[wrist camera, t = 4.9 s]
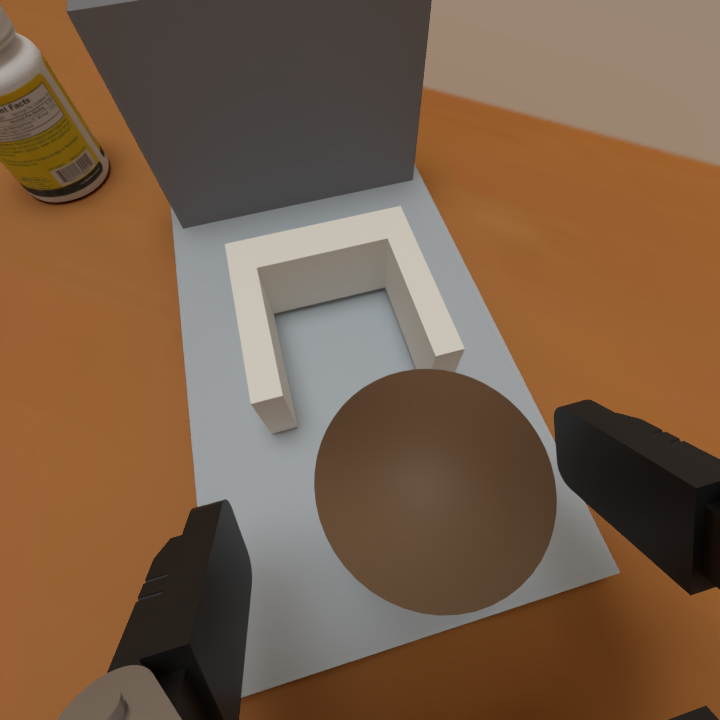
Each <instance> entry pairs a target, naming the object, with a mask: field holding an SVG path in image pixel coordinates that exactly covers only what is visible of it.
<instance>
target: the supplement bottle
mask: <svg viewBox="0 0 720 720" xmlns="http://www.w3.org/2000/svg"><path fill="white" fill-rule="evenodd" d="M0 161H1V162H2V163H3V165H4V166H5V167H6V168H7V169H8V170H9V171H10V172H11V174H12V175H13V176H14V177H15V178H16V179H17V180H18V181H19V182H20V183H21V185H22V186H23V187H24V188H25V189H26V190H27V191H28V192H29V193H30V194H31V195H32V196H34V197H35V198H37V199H39V200H42V201H46V202H65V201H70V200H74V199H77V198H80V197H83V196H85V195H87V194H89V193H90V192H92V191H94V190H95V189H96V188H97V187H98V186H99V185H100V184H101V183H102V182H103V181H104V179H105V178H106V176H107V173H108V169H109V163H108V159H107V156H106V154H105V153H104V151H103V149H102V148H101V146H100V145H99V143H98V142H97V140H96V139H95V137H94V135H93V134H92V132H91V131H90V129H89V128H88V126H87V125H86V123H85V121H84V120H83V118H82V117H81V115H80V114H79V112H78V110H77V109H76V107H75V106H74V104H73V103H72V101H71V99H70V98H69V96H68V95H67V93H66V92H65V90H64V89H63V87H62V85H61V84H60V82H59V81H58V79H57V77H56V76H55V74H54V73H53V71H52V69H51V68H50V66H49V65H48V63H47V61H46V60H45V58H44V56H43V55H42V53H41V52H40V50H39V49H38V48H37V47H36V46H35V45H34V44H33V43H32V42H31V41H30V40H29V39H27V38H26V37H24V36H22V35H20V34H17V33H15V27H14V25H13V24H12V23H11V20H10V19H9V17H8V16H7V14H6V13H5V11H4V10H3V8H2V7H1V5H0Z"/></svg>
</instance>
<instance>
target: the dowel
mask: <svg viewBox="0 0 720 720" xmlns="http://www.w3.org/2000/svg"><path fill="white" fill-rule="evenodd" d="M314 491H315V501H316V507H317V511H318V515H319V519H320V522H321V525H322V528H323V530H324V533H325V536H326V538H327V540H328V542H329V543H330V545H331V547H332V549H333V551H334V553H335V554H336V555H337V557H338V558H339V560H340V561H341V562H342V564H343V565H344V567H345V568H346V569H347V570H348V571H349V572H350V573H351V574H352V575H353V576H354V577H355V578H356V580H358V581H359V582H360V583H361V584H362V585H364V586H365V587H366V588H367V589H369V590H370V591H371V592H373V593H374V594H376V595H377V596H379V597H381V598H382V599H384V600H386V601H387V602H390V603H392V604H394V605H397V606H399V607H401V608H404V609H407V610H411V611H414V612H418V613H422V614H430V615H439V616H443V615H460V614H466V613H471V612H476V611H478V610H481V609H484V608H487V607H490V606H492V605H494V604H496V603H498V602H499V601H501V600H503V599H505V598H507V597H508V596H509V595H511V594H512V593H513V592H514V591H516V590H517V589H518V588H520V587H521V586H522V585H523V584H524V583H525V581H526V580H527V579H528V578H529V577H530V576H531V575H532V574H533V572H534V571H535V569H536V568H537V566H538V565H539V564H540V562H541V561H542V559H543V556H544V554H545V552H546V550H547V548H548V546H549V543H550V540H551V537H552V533H553V530H554V525H555V519H556V510H557V493H556V484H555V478H554V474H553V469H552V465H551V462H550V459H549V457H548V454H547V451H546V449H545V447H544V445H543V443H542V441H541V439H540V437H539V435H538V434H537V432H536V431H535V429H534V428H533V426H532V425H531V423H530V422H529V421H528V419H527V418H526V417H525V416H524V415H523V413H522V412H521V411H520V410H519V409H518V408H517V407H516V406H515V405H514V404H513V403H512V402H511V401H509V400H508V399H507V398H506V397H504V396H503V395H502V394H500V393H499V392H498V391H496V390H495V389H493V388H491V387H490V386H488V385H486V384H485V383H483V382H480V381H478V380H476V379H474V378H471V377H469V376H466V375H462V374H459V373H456V372H451V371H446V370H438V369H414V370H407V371H401V372H398V373H394V374H390V375H387V376H385V377H383V378H380V379H378V380H376V381H374V382H372V383H370V384H369V385H367V386H365V387H364V388H362V389H361V390H360V391H358V392H357V393H356V394H354V395H353V396H352V397H351V398H350V399H349V400H348V401H347V402H346V403H345V404H344V405H343V406H342V407H341V408H340V410H339V411H338V412H337V413H336V415H335V416H334V418H333V419H332V421H331V423H330V424H329V426H328V428H327V430H326V432H325V434H324V436H323V439H322V441H321V444H320V447H319V451H318V454H317V459H316V466H315V473H314Z"/></svg>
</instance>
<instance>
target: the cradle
mask: <svg viewBox="0 0 720 720" xmlns="http://www.w3.org/2000/svg"><path fill="white" fill-rule="evenodd" d="M225 249H226V255H227V261H228V267H229V274H230V280H231V286H232V292H233V298H234V304H235V310H236V316H237V323H238V329H239V335H240V341H241V347H242V353H243V359H244V365H245V372H246V378H247V384H248V390H249V396H250V402H251V405H252V406H253V408H254V409H255V411H256V412H257V414H258V415H259V417H260V418H261V420H262V421H263V422H264V424H265V425H266V427H267V428H268V430H269V431H270V433H271V434H273V433H276V432H280V431H284V430H288V429H291V428H295V427H298V425H297V421H296V416H295V411H294V407H293V402H292V397H291V392H290V388H289V383H288V378H287V374H286V369H285V364H284V360H283V355H282V350H281V346H280V341H279V336H278V332H277V327H276V322H275V318H274V314H275V313H279V312H283V311H287V310H292V309H296V308H300V307H304V306H309V305H313V304H317V303H321V302H325V301H330V300H334V299H338V298H342V297H347V296H351V295H355V294H359V293H363V292H368V291H372V290H376V289H380V288H384V287H385V288H386V291H387V293H388V296H389V299H390V301H391V304H392V307H393V309H394V312H395V315H396V317H397V320H398V323H399V325H400V328H401V330H402V333H403V336H404V338H405V341H406V344H407V346H408V349H409V352H410V354H411V357H412V360H413V362H414V365H415V368H416V369H438V370H446V371H451V372H456V369H457V367H458V364H459V362H460V359H461V357H462V355H463V352H464V350H465V348H464V346H463V343H462V341H461V339H460V337H459V335H458V332H457V330H456V328H455V326H454V323H453V321H452V319H451V317H450V315H449V312H448V310H447V308H446V306H445V303H444V301H443V299H442V297H441V295H440V292H439V290H438V288H437V286H436V283H435V281H434V279H433V277H432V274H431V272H430V270H429V268H428V266H427V263H426V261H425V259H424V257H423V254H422V252H421V250H420V248H419V246H418V243H417V241H416V239H415V237H414V234H413V232H412V230H411V228H410V225H409V223H408V221H407V219H406V217H405V214H404V212H403V210H402V208H401V206H397V207H393V208H388V209H383V210H379V211H374V212H370V213H365V214H360V215H356V216H351V217H347V218H342V219H337V220H333V221H328V222H324V223H319V224H314V225H310V226H305V227H301V228H296V229H291V230H287V231H282V232H277V233H273V234H268V235H264V236H259V237H254V238H250V239H245V240H241V241H236V242H231V243H227V244H225Z"/></svg>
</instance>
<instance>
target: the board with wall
mask: <svg viewBox="0 0 720 720" xmlns="http://www.w3.org/2000/svg"><path fill="white" fill-rule="evenodd" d="M431 1H432V0H68V2H67V11H66V12H67V13H68V15H69V17H70V19H71V21H72V23H73V25H74V26H75V28H76V30H77V32H78V34H79V36H80V38H81V40H82V41H83V43H84V45H85V47H86V49H87V51H88V53H89V54H90V56H91V58H92V60H93V62H94V64H95V66H96V67H97V69H98V71H99V73H100V75H101V77H102V79H103V80H104V82H105V84H106V86H107V88H108V90H109V92H110V93H111V95H112V97H113V99H114V101H115V103H116V105H117V107H118V108H119V110H120V112H121V114H122V116H123V118H124V120H125V121H126V123H127V125H128V127H129V129H130V131H131V133H132V134H133V136H134V138H135V140H136V142H137V144H138V146H139V147H140V149H141V151H142V153H143V155H144V157H145V159H146V160H147V162H148V164H149V166H150V168H151V170H152V172H153V174H154V175H155V177H156V179H157V181H158V183H159V185H160V187H161V188H162V190H163V192H164V194H165V196H166V198H167V200H168V201H169V203H170V205H171V214H172V225H173V237H174V248H175V259H176V271H177V282H178V293H179V305H180V316H181V327H182V338H183V350H184V361H185V372H186V384H187V395H188V406H189V418H190V429H191V440H192V451H193V463H194V474H195V485H196V497H197V507H199V506H203V505H206V504H210V503H214V502H217V501H221V500H224V499H226V500H228V501H229V503H230V504H231V507H232V509H233V512H234V515H235V517H236V520H237V523H238V526H239V529H240V531H241V534H242V537H243V540H244V542H245V545H246V548H247V551H248V554H249V557H250V562H251V568H252V589H251V600H250V610H249V620H248V631H247V641H246V651H245V662H244V672H243V682H242V693H241V698H242V697H245V696H248V695H251V694H254V693H258V692H261V691H264V690H267V689H270V688H273V687H276V686H279V685H282V684H285V683H288V682H291V681H294V680H297V679H300V678H303V677H306V676H309V675H312V674H315V673H318V672H321V671H324V670H327V669H330V668H333V667H336V666H339V665H342V664H345V663H348V662H352V661H355V660H358V659H361V658H364V657H367V656H370V655H373V654H376V653H379V652H382V651H385V650H388V649H391V648H394V647H397V646H400V645H403V644H406V643H409V642H412V641H415V640H418V639H421V638H424V637H427V636H430V635H433V634H436V633H439V632H442V631H446V630H449V629H452V628H455V627H458V626H461V625H464V624H467V623H470V622H473V621H476V620H479V619H482V618H485V617H488V616H491V615H494V614H497V613H500V612H503V611H506V610H509V609H512V608H515V607H518V606H521V605H524V604H527V603H530V602H533V601H536V600H540V599H543V598H546V597H549V596H552V595H555V594H558V593H561V592H564V591H567V590H570V589H573V588H576V587H579V586H582V585H585V584H588V583H591V582H594V581H597V580H600V579H603V578H606V577H609V576H612V575H615V574H618V573H620V571H619V569H618V567H617V565H616V563H615V561H614V559H613V557H612V555H611V553H610V551H609V549H608V547H607V545H606V543H605V541H604V539H603V537H602V535H601V533H600V531H599V529H598V527H597V525H596V523H595V521H594V519H593V517H592V515H591V513H590V511H589V509H588V507H587V505H586V503H585V502H584V501H583V500H582V499H581V498H580V497H579V496H578V495H577V494H575V493H574V492H573V491H572V490H571V489H570V488H569V487H568V486H567V485H566V483H565V482H564V480H563V479H562V477H561V475H560V472H559V469H558V466H557V456H556V444H555V442H554V440H553V438H552V436H551V434H550V432H549V430H548V428H547V426H546V424H545V422H544V420H543V418H542V416H541V414H540V412H539V410H538V408H537V406H536V404H535V402H534V400H533V398H532V396H531V394H530V392H529V390H528V388H527V386H526V384H525V382H524V380H523V378H522V376H521V374H520V372H519V370H518V368H517V366H516V364H515V362H514V360H513V358H512V356H511V354H510V352H509V350H508V348H507V346H506V344H505V342H504V340H503V338H502V336H501V334H500V333H499V331H498V329H497V327H496V325H495V323H494V321H493V319H492V317H491V315H490V313H489V311H488V309H487V307H486V305H485V303H484V301H483V299H482V297H481V295H480V293H479V291H478V289H477V287H476V285H475V283H474V281H473V279H472V277H471V275H470V273H469V271H468V269H467V267H466V265H465V263H464V261H463V259H462V257H461V255H460V253H459V251H458V249H457V247H456V245H455V243H454V241H453V239H452V237H451V235H450V233H449V231H448V229H447V227H446V225H445V223H444V221H443V219H442V217H441V215H440V213H439V211H438V209H437V207H436V206H435V204H434V202H433V200H432V198H431V196H430V194H429V192H428V190H427V188H426V186H425V184H424V182H423V180H422V178H421V176H420V174H419V172H418V170H417V168H416V166H415V164H414V163H415V154H416V144H417V135H418V125H419V116H420V106H421V97H422V87H423V78H424V68H425V58H426V49H427V39H428V30H429V20H430V11H431ZM397 206H401V208H402V210H403V212H404V214H405V217H406V219H407V221H408V223H409V225H410V228H411V230H412V232H413V234H414V237H415V239H416V241H417V243H418V246H419V248H420V250H421V252H422V254H423V257H424V259H425V261H426V263H427V266H428V268H429V270H430V272H431V274H432V277H433V279H434V281H435V283H436V286H437V288H438V290H439V292H440V295H441V297H442V299H443V301H444V303H445V306H446V308H447V310H448V312H449V315H450V317H451V319H452V321H453V323H454V326H455V328H456V330H457V332H458V335H459V337H460V339H461V341H462V343H463V346H464V348H465V350H464V352H463V355H462V357H461V359H460V362H459V364H458V367H457V369H456V373H459V374H462V375H466V376H469V377H471V378H474V379H476V380H478V381H480V382H483V383H485V384H486V385H488V386H490V387H491V388H493V389H495V390H496V391H498V392H499V393H500V394H502V395H503V396H504V397H506V398H507V399H508V400H509V401H511V402H512V403H513V404H514V405H515V406H516V407H517V408H518V409H519V410H520V411H521V412H522V413H523V415H524V416H525V417H526V418H527V419H528V421H529V422H530V423H531V425H532V426H533V428H534V429H535V431H536V432H537V434H538V435H539V437H540V439H541V441H542V443H543V445H544V447H545V449H546V451H547V454H548V457H549V459H550V462H551V465H552V469H553V474H554V478H555V484H556V493H557V510H556V519H555V525H554V530H553V533H552V537H551V540H550V543H549V546H548V548H547V550H546V552H545V554H544V556H543V559H542V561H541V562H540V564H539V565H538V566H537V568H536V569H535V571H534V572H533V574H532V575H531V576H530V577H529V578H528V579H527V580H526V581H525V583H524V584H523V585H522V586H521V587H520V588H518V589H517V590H516V591H514V592H513V593H512V594H511V595H509V596H508V597H507V598H505V599H503V600H501V601H499V602H498V603H496V604H494V605H492V606H490V607H487V608H484V609H481V610H478V611H476V612H471V613H466V614H460V615H443V616H439V615H430V614H422V613H418V612H414V611H411V610H407V609H404V608H401V607H399V606H397V605H394V604H392V603H390V602H387V601H386V600H384V599H382V598H381V597H379V596H377V595H376V594H374V593H373V592H371V591H370V590H369V589H367V588H366V587H365V586H364V585H362V584H361V583H360V582H359V581H358V580H356V578H355V577H354V576H353V575H352V574H351V573H350V572H349V571H348V570H347V569H346V568H345V567H344V565H343V564H342V562H341V561H340V560H339V558H338V557H337V555H336V554H335V553H334V551H333V549H332V547H331V545H330V543H329V542H328V540H327V538H326V536H325V533H324V530H323V528H322V525H321V522H320V519H319V515H318V511H317V507H316V501H315V491H314V473H315V466H316V459H317V454H318V451H319V447H320V444H321V441H322V439H323V436H324V434H325V432H326V430H327V428H328V426H329V424H330V423H331V421H332V419H333V418H334V416H335V415H336V413H337V412H338V411H339V410H340V408H341V407H342V406H343V405H344V404H345V403H346V402H347V401H348V400H349V399H350V398H351V397H352V396H353V395H354V394H356V393H357V392H358V391H360V390H361V389H362V388H364V387H365V386H367V385H369V384H370V383H372V382H374V381H376V380H378V379H380V378H383V377H385V376H387V375H390V374H394V373H398V372H401V371H407V370H414V369H416V368H415V365H414V362H413V360H412V357H411V354H410V352H409V349H408V346H407V344H406V341H405V338H404V336H403V333H402V330H401V328H400V325H399V323H398V320H397V317H396V315H395V312H394V309H393V307H392V304H391V301H390V299H389V296H388V293H387V291H386V288H385V287H384V288H380V289H376V290H372V291H368V292H363V293H359V294H355V295H351V296H347V297H342V298H338V299H334V300H330V301H325V302H321V303H317V304H313V305H309V306H304V307H300V308H296V309H292V310H287V311H283V312H279V313H275V314H274V318H275V322H276V327H277V332H278V336H279V341H280V346H281V350H282V355H283V360H284V364H285V369H286V374H287V378H288V383H289V388H290V392H291V397H292V402H293V407H294V411H295V416H296V421H297V425H298V427H295V428H291V429H288V430H284V431H280V432H276V433H273V434H271V433H270V431H269V430H268V428H267V427H266V425H265V424H264V422H263V421H262V420H261V418H260V417H259V415H258V414H257V412H256V411H255V409H254V408H253V406H252V405H251V402H250V396H249V390H248V384H247V378H246V372H245V365H244V359H243V353H242V347H241V341H240V335H239V329H238V323H237V316H236V310H235V304H234V298H233V292H232V286H231V280H230V274H229V267H228V261H227V255H226V249H225V244H227V243H231V242H236V241H241V240H245V239H250V238H254V237H259V236H264V235H268V234H273V233H277V232H282V231H287V230H291V229H296V228H301V227H305V226H310V225H314V224H319V223H324V222H328V221H333V220H337V219H342V218H347V217H351V216H356V215H360V214H365V213H370V212H374V211H379V210H383V209H388V208H393V207H397Z"/></svg>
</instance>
